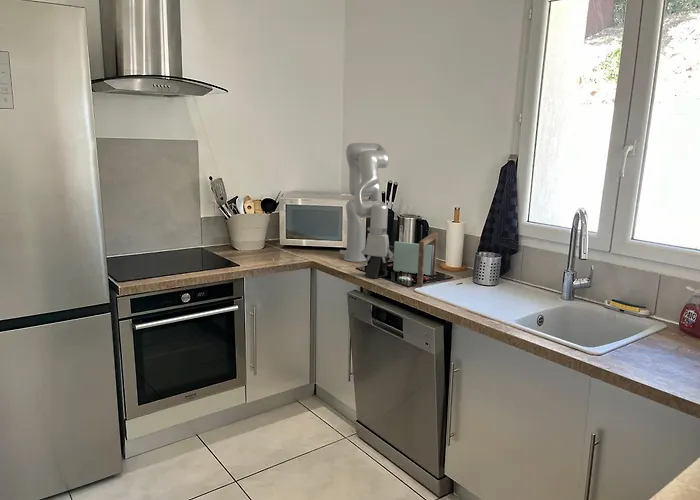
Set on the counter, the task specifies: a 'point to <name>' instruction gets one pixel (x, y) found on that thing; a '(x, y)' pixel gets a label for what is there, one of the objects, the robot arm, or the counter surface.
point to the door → (412, 258)
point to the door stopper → (375, 268)
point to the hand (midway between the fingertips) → (376, 269)
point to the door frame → (422, 243)
